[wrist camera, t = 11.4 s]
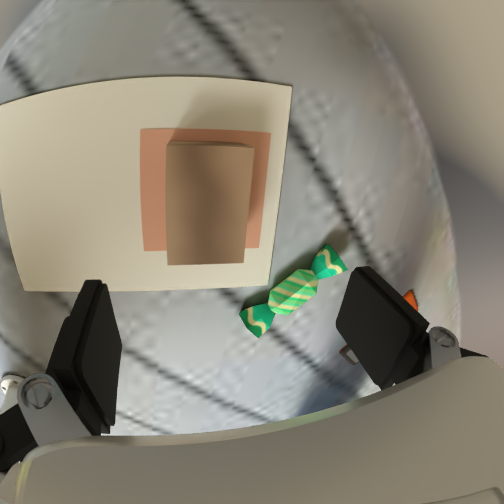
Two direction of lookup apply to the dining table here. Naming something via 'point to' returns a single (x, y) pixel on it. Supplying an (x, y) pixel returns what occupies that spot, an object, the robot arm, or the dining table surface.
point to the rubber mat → (130, 179)
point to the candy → (293, 291)
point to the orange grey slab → (349, 354)
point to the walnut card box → (207, 201)
